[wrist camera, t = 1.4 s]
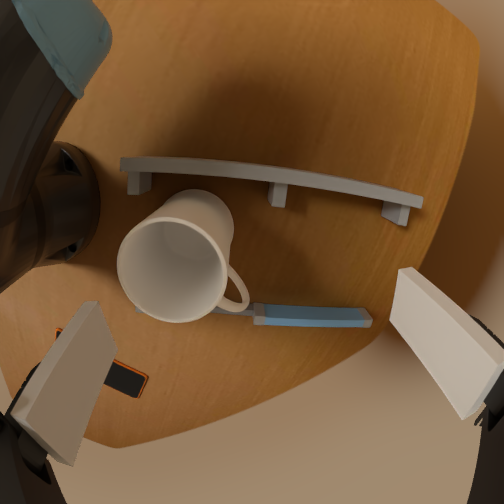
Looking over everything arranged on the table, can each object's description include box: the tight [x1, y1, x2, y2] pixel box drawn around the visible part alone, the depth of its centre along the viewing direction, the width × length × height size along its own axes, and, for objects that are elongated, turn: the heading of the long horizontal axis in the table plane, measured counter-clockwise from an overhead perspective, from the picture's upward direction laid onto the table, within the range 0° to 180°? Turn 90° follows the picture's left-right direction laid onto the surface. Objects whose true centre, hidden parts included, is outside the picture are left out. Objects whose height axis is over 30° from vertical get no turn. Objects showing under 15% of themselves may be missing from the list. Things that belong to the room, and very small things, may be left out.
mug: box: [117, 189, 250, 323], centre depth 24 cm, size 12×8×12 cm
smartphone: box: [55, 328, 148, 399], centre depth 36 cm, size 8×17×1 cm, turn 61°
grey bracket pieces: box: [120, 156, 423, 328], centre depth 28 cm, size 29×17×6 cm, turn 83°
